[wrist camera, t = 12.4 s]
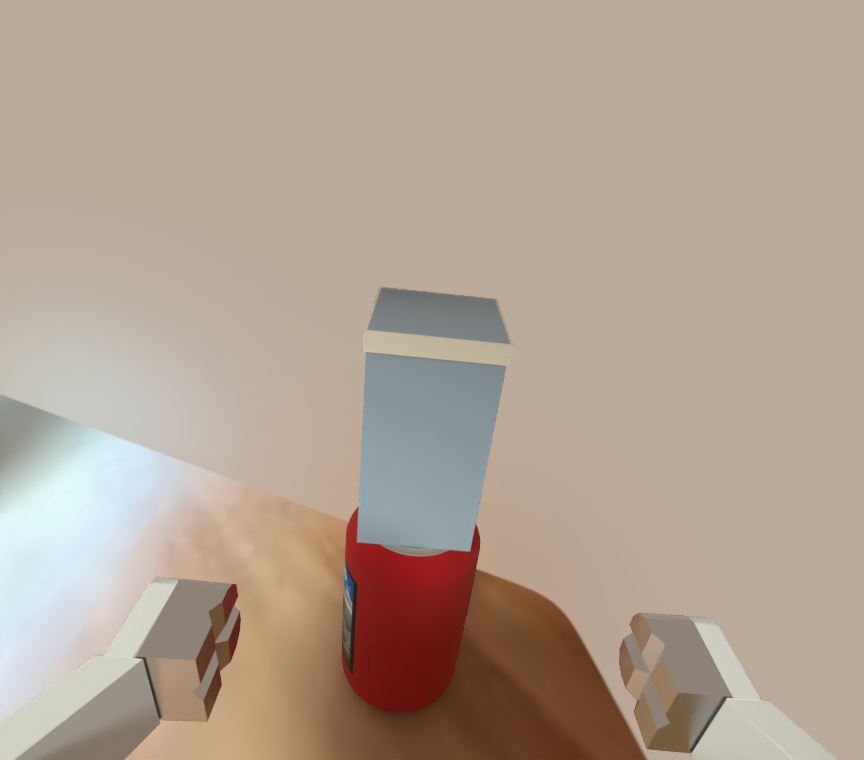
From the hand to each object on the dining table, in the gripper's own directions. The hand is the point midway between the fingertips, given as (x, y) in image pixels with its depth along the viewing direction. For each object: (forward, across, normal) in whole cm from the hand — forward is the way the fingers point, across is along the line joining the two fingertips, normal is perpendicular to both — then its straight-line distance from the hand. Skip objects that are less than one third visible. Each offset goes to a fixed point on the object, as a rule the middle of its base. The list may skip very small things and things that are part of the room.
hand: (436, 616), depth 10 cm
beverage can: (+12, 0, +20) cm, 23 cm away
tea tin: (+12, 0, +8) cm, 14 cm away
